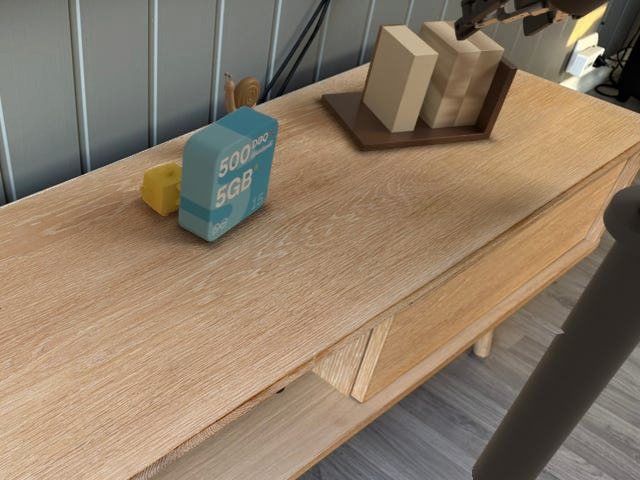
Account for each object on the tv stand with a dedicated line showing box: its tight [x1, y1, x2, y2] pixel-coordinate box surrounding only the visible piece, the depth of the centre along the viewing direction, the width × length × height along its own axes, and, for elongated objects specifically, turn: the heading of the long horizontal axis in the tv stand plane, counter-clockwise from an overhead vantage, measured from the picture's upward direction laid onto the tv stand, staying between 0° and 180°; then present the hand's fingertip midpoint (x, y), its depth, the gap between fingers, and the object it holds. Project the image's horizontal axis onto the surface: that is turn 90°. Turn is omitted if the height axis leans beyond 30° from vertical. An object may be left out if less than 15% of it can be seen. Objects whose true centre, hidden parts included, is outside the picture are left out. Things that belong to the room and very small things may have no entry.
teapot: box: [138, 161, 182, 217], centre depth 85 cm, size 8×6×5 cm
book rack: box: [320, 19, 519, 152], centre depth 101 cm, size 20×15×12 cm
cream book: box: [361, 22, 438, 133], centre depth 100 cm, size 4×10×11 cm, turn 14°
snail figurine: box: [223, 71, 261, 115], centre depth 93 cm, size 5×6×12 cm
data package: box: [177, 106, 279, 243], centre depth 82 cm, size 12×4×12 cm, turn 139°
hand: (492, 29), depth 79 cm, fingers open, 8 cm apart
